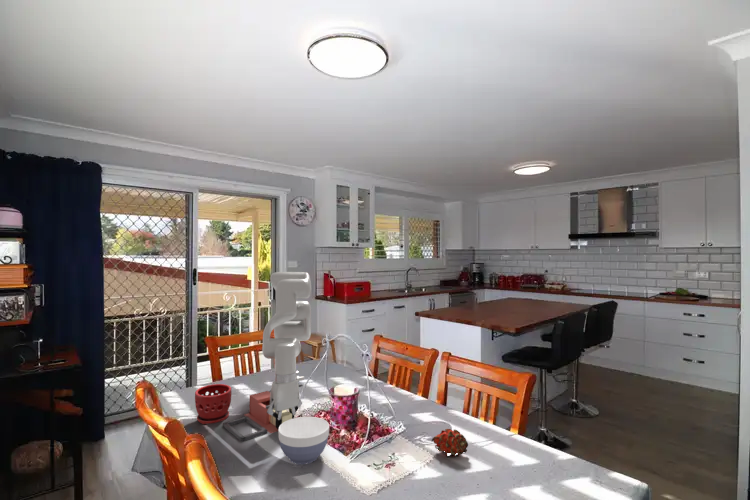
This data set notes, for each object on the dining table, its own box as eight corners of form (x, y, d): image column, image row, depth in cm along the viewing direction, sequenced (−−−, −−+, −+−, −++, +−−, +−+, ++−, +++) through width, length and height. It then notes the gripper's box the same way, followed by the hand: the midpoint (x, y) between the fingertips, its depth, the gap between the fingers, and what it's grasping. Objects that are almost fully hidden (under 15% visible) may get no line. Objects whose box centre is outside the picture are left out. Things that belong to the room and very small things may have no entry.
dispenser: (243, 417, 156) (243, 396, 156) (271, 409, 164) (271, 389, 164) (270, 436, 140) (270, 412, 140) (299, 426, 148) (300, 404, 148)
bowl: (285, 475, 115) (285, 442, 115) (272, 451, 129) (273, 421, 129) (336, 462, 122) (336, 431, 123) (319, 441, 137) (319, 413, 137)
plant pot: (188, 420, 153) (189, 389, 153) (221, 410, 162) (222, 381, 162) (203, 431, 144) (204, 397, 144) (237, 420, 153) (237, 389, 154)
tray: (247, 421, 152) (247, 416, 152) (267, 435, 140) (267, 429, 140) (222, 428, 146) (222, 423, 146) (241, 444, 134) (241, 438, 134)
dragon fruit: (470, 465, 125) (434, 462, 130) (472, 439, 131) (438, 437, 136) (464, 449, 121) (426, 447, 126) (466, 424, 127) (430, 422, 132)
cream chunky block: (268, 421, 149) (268, 408, 149) (278, 418, 152) (278, 405, 152) (281, 430, 142) (282, 416, 142) (291, 427, 145) (292, 413, 145)
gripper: (299, 370, 153) (299, 417, 153) (259, 379, 142) (258, 430, 142) (310, 374, 147) (310, 424, 147) (269, 384, 136) (268, 438, 136)
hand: (284, 426), depth 144 cm, fingers closed on cream chunky block, 4 cm apart
